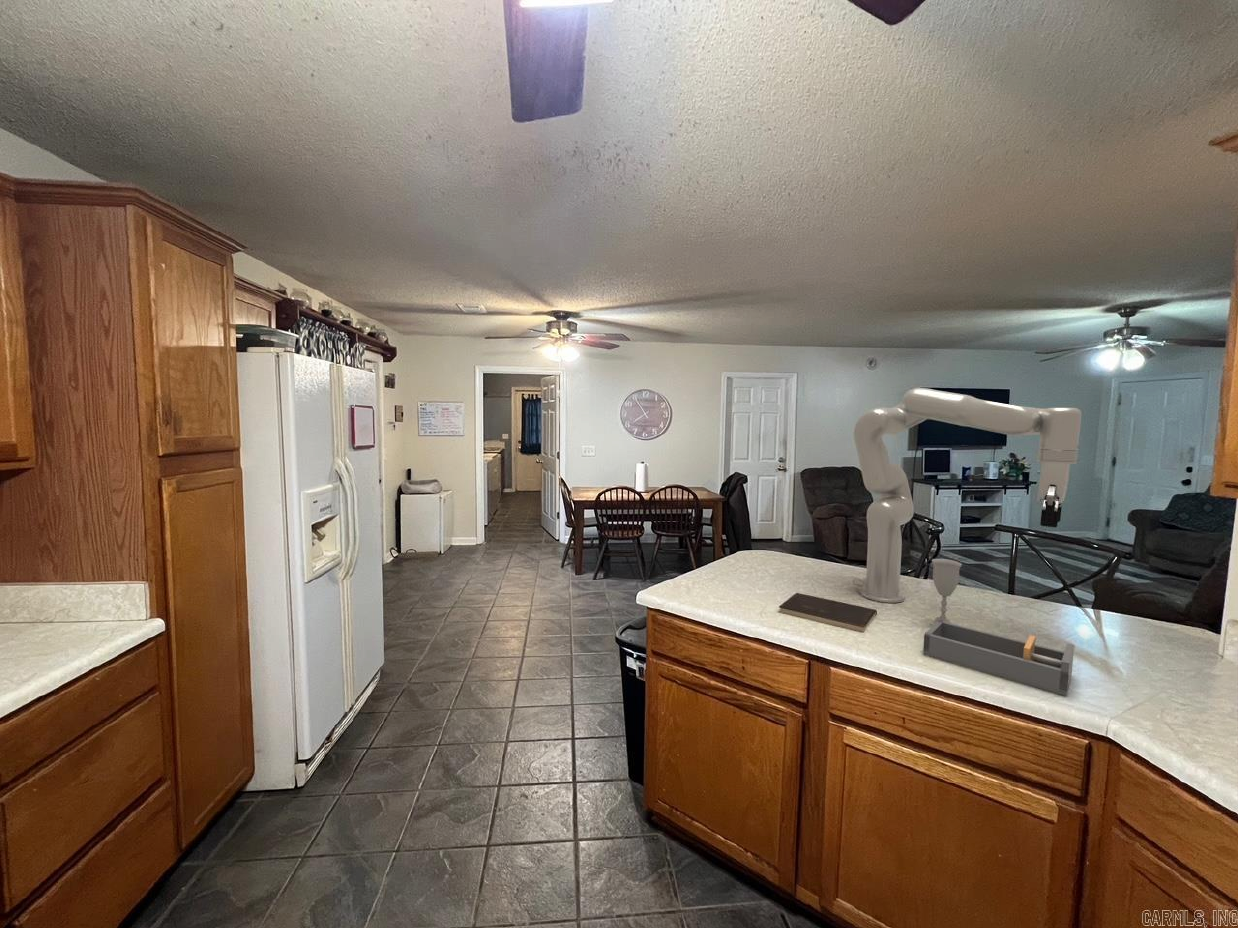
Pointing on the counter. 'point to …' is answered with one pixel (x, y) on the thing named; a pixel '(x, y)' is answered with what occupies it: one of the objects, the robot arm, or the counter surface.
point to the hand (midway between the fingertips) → (1050, 523)
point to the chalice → (945, 581)
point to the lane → (999, 656)
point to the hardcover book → (829, 611)
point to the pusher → (1030, 655)
